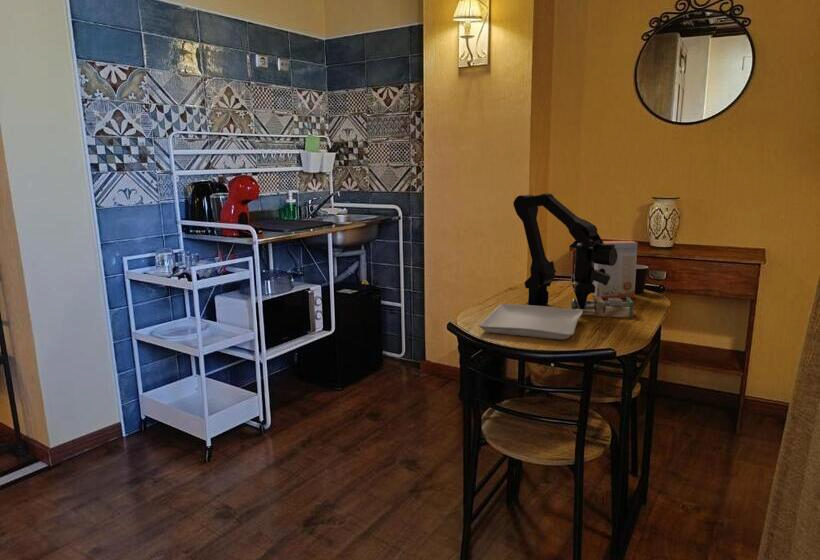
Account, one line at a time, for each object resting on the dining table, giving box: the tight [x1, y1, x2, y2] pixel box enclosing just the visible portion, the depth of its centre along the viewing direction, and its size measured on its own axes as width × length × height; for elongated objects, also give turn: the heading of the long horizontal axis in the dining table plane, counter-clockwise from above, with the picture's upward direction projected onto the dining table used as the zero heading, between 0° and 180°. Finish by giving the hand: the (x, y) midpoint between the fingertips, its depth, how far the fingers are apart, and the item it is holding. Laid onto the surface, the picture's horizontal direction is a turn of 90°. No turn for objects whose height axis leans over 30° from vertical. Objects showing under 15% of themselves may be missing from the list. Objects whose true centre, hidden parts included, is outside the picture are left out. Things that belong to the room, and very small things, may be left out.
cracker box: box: [592, 240, 638, 299], centre depth 212 cm, size 14×6×21 cm, turn 89°
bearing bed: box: [576, 296, 634, 318], centre depth 191 cm, size 20×7×5 cm, turn 79°
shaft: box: [570, 298, 609, 310], centre depth 191 cm, size 12×4×4 cm, turn 79°
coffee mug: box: [635, 264, 649, 295], centre depth 222 cm, size 12×9×10 cm
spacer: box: [607, 298, 623, 307], centre depth 190 cm, size 4×4×4 cm
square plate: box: [478, 303, 583, 341], centre depth 177 cm, size 27×27×4 cm
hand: (581, 307), depth 192 cm, fingers closed on shaft, 3 cm apart
